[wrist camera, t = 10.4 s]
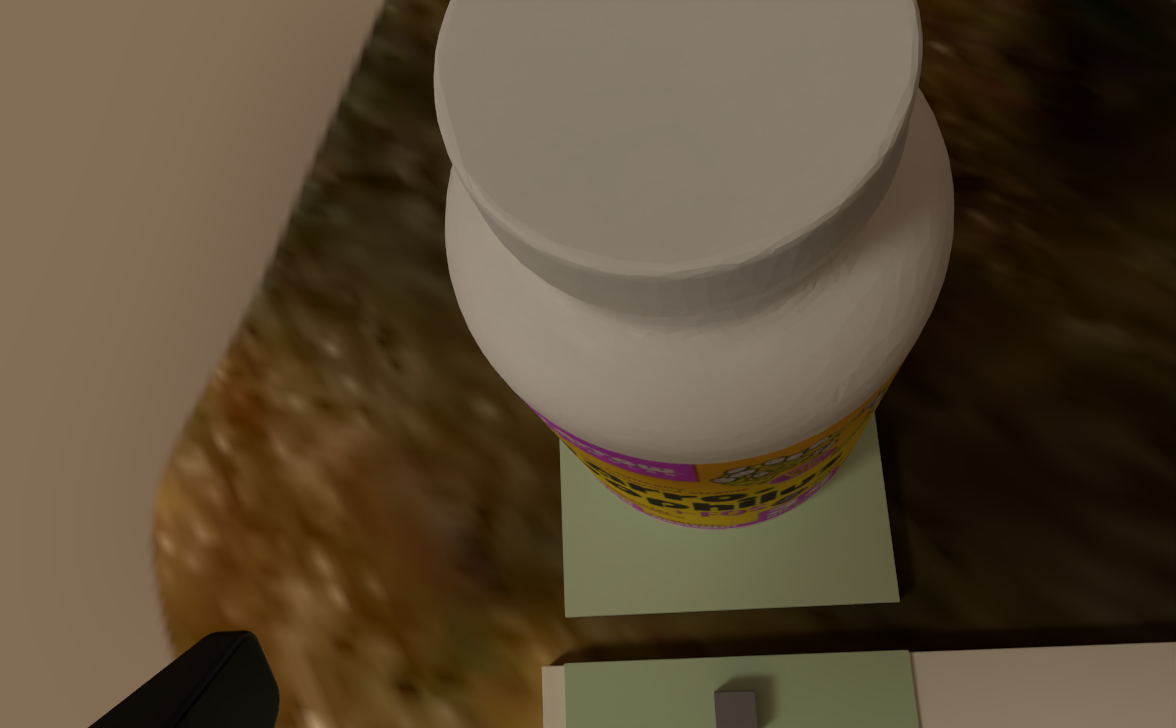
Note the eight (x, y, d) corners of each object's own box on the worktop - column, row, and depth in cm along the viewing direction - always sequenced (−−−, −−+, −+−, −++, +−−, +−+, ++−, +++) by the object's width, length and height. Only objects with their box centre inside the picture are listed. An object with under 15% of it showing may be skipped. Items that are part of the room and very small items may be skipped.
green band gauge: (1391, 749, 17) (1436, 757, 16) (550, 767, 20) (537, 775, 18) (1223, 130, 21) (1251, 101, 20) (535, 208, 23) (524, 186, 22)
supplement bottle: (553, 521, 21) (266, 358, 8) (585, 247, 22) (383, -215, 10) (864, 549, 19) (1052, 403, 7) (871, 256, 21) (1032, -261, 9)
